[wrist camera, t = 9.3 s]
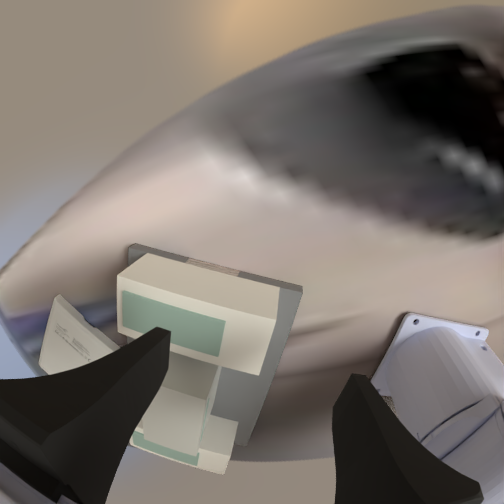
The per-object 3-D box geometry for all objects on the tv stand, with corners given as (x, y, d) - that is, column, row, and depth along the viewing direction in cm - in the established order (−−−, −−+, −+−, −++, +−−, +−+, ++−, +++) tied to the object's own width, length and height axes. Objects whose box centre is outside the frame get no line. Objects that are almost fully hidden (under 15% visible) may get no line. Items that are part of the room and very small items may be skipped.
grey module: (227, 341, 20) (207, 400, 15) (214, 402, 23) (196, 456, 17) (173, 325, 20) (139, 377, 15) (169, 388, 23) (143, 438, 17)
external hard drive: (44, 356, 27) (62, 290, 23) (95, 400, 28) (127, 347, 24) (37, 364, 26) (52, 298, 22) (89, 409, 27) (119, 357, 22)
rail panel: (302, 286, 19) (304, 328, 14) (247, 439, 25) (239, 480, 20) (135, 243, 20) (94, 269, 15) (135, 405, 26) (115, 440, 21)
